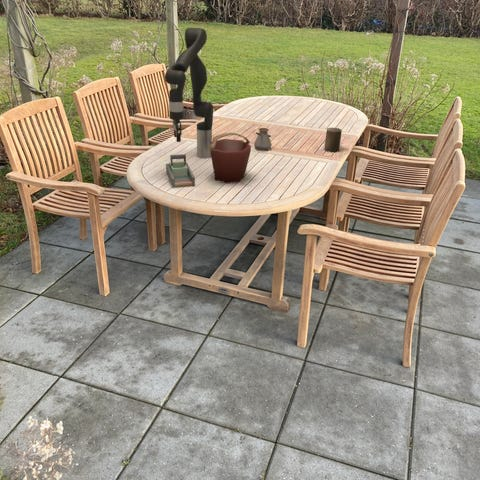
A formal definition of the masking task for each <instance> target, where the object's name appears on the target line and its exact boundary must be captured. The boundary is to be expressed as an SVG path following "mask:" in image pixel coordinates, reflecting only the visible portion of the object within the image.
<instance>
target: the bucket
mask: <svg viewBox="0 0 480 480" xmlns="http://www.w3.org/2000/svg"><path fill="white" fill-rule="evenodd" d="M229 136H238V137H240V138H243V139H244V140H245V141H243V140H241V139H231V138H230V139H229V138H224V137H229ZM221 138H222V139H221ZM250 143H251V141H250V139H248V137H246V136H244V135H241V134H240V133H237V132H226V133H225V132H224V133H221V134H218V135H215V136H212V142H210V146H209V148H210V152H211V157H210V158H211V159H210V160H211V163H212V168H213V174H214V179H215V180H216V181H218V182H222V183H225V184H228V183H229V184H231V182H232V183H239V182H241V181H242V180H243V179H245V176H246V170H247V168H248V163H249V160H250V156H251V155H250V154H251V149H252V148H251V147H252V146H251V144H250Z"/></svg>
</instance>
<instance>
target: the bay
mask: <svg viewBox="0 0 480 480" xmlns="http://www.w3.org/2000/svg"><path fill="white" fill-rule="evenodd" d="M186 166H187V171H188V176H184V177H174V176H173V174H172V172H171V169H170V163H165V169H166V171H165V172H166V175H167V177H168V180H169V182H170V185H171V188H172V189H175V188H187V187H195V186H196V183H195V182H196V179H195V178H196V177H195V176H194V173H193V171H192V169H191V168H190V166H189V164H188V162H187V161H186Z"/></svg>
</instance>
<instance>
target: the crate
mask: <svg viewBox="0 0 480 480" xmlns="http://www.w3.org/2000/svg"><path fill="white" fill-rule="evenodd" d="M169 157H170V162H169V163H170V169H171V172H172V174H173V176H174V177H184V176H188V171H187V166H186V162H187V155H186V154H185V153H184V154H171V155H169ZM173 160H183V161H173ZM169 163H168V164H169Z"/></svg>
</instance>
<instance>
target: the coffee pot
mask: <svg viewBox="0 0 480 480" xmlns="http://www.w3.org/2000/svg"><path fill="white" fill-rule="evenodd" d="M257 130H258V131H259V132H257V131H256V132H254V133H253V135H255V134H256V138H255V141H254V147H255V148H256V149H257V150H258V151H268V150H269V149H270V148H272V146H273V144H272V141H271V139H270V136H269V134H268V132H269V131H270V130H269V129H268V128H267V127H260V128H258V129H257Z"/></svg>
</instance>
